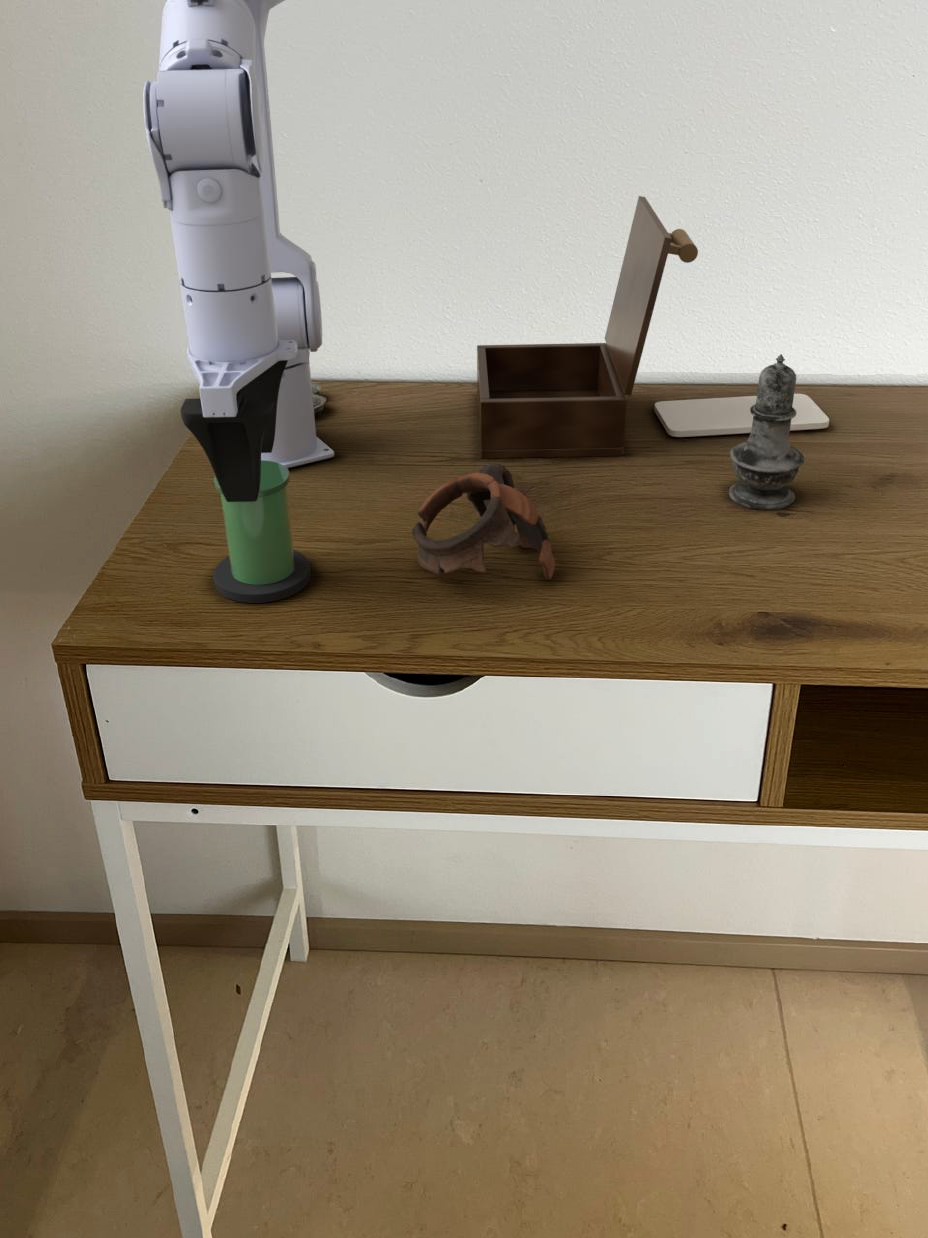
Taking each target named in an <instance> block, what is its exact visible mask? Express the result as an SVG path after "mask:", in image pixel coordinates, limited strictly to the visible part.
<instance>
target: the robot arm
mask: <svg viewBox="0 0 928 1238" xmlns="http://www.w3.org/2000/svg"><path fill="white" fill-rule="evenodd" d="M284 1H286V0H167V1H166V2H165V4H164V6H163V10H162V15H161V30H160V31H161V32H160V44H159V59H158V62H159V63H158V72H157V74H156V81H152V82H151V81H150V80H145V81H144V84H143V93H142V94H143V95H142V111H143V112H142V113H143V121H144V130H145V136H146V141H147V145H148V150H149V153H150V157H151V159H152V162H153V166H154V169H155V173H156V176H157V179H158V185H159V191H160V198H161V202H162V206H163V208H164V209H168V211H169V221H170V229H171V233H172V241H173V247H174V253H175V262H176V267H177V275H178V281H179V286H180V287H179V288H180V293H181V301H182V309H183V315H184V322H185V327H186V328H185V329H186V334H187V341H188V347H187V348H186V356H187V361H188V364H189V366H190V368H191V370H192V372H193V375H194V376H195V378H196V381H197V382H198V384H199V388H198V390H199V397H200V398H185V399H184V401H183V403H182V405H181V407H180V417H181V420H182V422H183V424H184V426H185V428H187V429H188V431H189V432H190V433H191V434H192V435H193V436H194V438H195V440H196V441H197V442H198V443H199V444H200V446H201V448H202V450H203V451H204V454H205V455H206V457H207V459H208V461H209V464H210V466H211V469H212V471H213V473H214V477H215V476H216V479H217V481H218V484H219V486H220V489H221V491H222V493H223V495H224V497H225V499H226V501H227V502H255V501H257V498H258V494H259V489H260V481H261V460H264V461H272V462H276V463H279V464H282V465H283V466H285V467H286V468H287V469H289V468H294V467H298V466H303V465H307V464H310V463H314V462H319V461H323V460H327V459H331V458H333V457H335V450H333V449H332V448H330V447H329V446H328V444H326V443H325V442H323V441H322V439H320V438H319V437H318V436H317V430H316V429H317V428H316V419H315V414H314V406H313V395H312V384H311V382H312V375H311V365H310V364H311V363H310V352H311V353H317V351H318V350H319V348H320V347H322V345H323V319H322V307H321V296H320V295H321V294H320V286H319V281H318V277H317V268H316V267H317V266H316V263H315V261H313V259H312V255H310V254H309V252H307V251H306V250H304V249H303V248H302V247H300V246H298V244H296V243H295V242H293V241H291V240H290V239H288V238H287V237H286V236H284V235H283V234H282V232H281V225H280V215H279V205H278V204H279V203H278V193H277V191H278V190H277V181H276V169H275V168H276V167H275V157H274V156H275V155H274V146H273V134H272V133H273V132H272V131H273V130H272V123H271V122H272V121H271V109H270V97H269V86H268V74H267V63H266V61H267V60H266V51H265V37H266V31H267V26H268V25H267V24H268V19H269V14H270V10H271V9H273V8H274V7H276V6H278V5H280V4H282V3H283V2H284ZM273 273H274V274H275V273H285V274H291V275H293V276H285V277H283V276H282V277H272V274H273Z"/></svg>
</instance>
